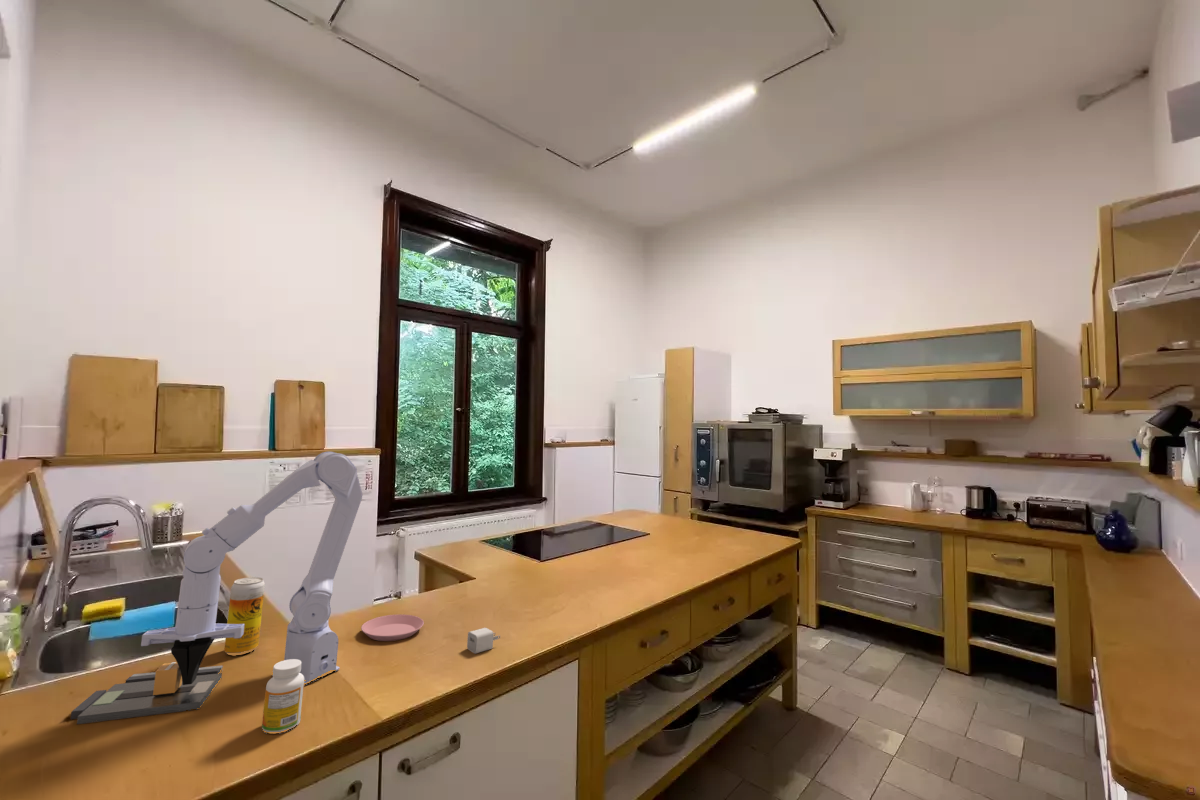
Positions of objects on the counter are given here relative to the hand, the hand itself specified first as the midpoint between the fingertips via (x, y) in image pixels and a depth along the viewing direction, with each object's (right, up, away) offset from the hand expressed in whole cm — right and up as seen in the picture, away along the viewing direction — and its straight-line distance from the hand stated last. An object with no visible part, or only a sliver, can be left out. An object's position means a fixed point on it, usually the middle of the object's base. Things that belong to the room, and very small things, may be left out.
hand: (189, 682), depth 89 cm
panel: (-4, -2, -2) cm, 5 cm away
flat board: (-7, -2, +1) cm, 7 cm away
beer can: (-4, -4, +19) cm, 20 cm away
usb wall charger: (+47, -7, +27) cm, 54 cm away
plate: (+23, -7, +33) cm, 41 cm away
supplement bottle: (+21, -3, -8) cm, 23 cm away
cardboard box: (-3, -1, -1) cm, 3 cm away
